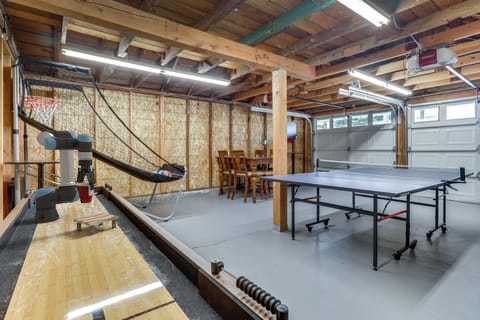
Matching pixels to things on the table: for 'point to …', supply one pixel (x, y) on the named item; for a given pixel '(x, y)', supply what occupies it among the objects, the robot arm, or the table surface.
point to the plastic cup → (84, 192)
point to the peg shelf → (95, 221)
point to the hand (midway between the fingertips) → (86, 194)
